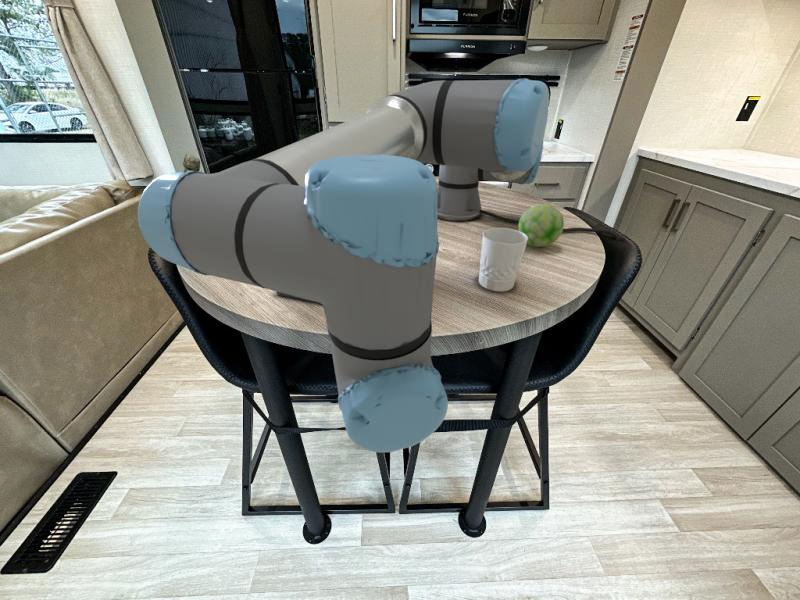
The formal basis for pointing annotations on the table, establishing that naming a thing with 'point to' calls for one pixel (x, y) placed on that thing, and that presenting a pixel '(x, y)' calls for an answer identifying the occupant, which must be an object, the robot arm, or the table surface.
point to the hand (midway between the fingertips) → (336, 230)
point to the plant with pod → (191, 163)
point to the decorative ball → (541, 225)
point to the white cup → (501, 258)
